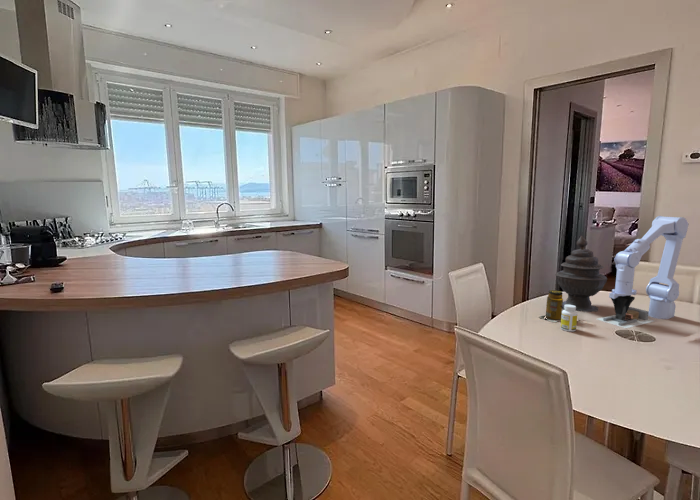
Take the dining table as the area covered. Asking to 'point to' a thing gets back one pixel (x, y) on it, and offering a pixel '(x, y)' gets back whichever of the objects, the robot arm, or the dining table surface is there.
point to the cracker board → (631, 323)
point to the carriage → (623, 316)
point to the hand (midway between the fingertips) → (620, 313)
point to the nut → (634, 313)
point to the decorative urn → (581, 278)
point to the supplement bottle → (569, 318)
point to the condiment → (554, 306)
